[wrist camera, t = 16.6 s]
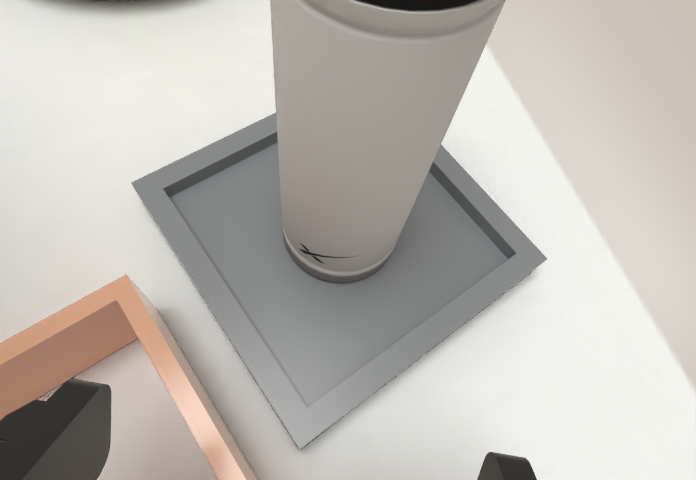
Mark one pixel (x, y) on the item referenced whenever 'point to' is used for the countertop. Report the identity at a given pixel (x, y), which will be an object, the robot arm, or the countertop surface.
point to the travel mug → (364, 118)
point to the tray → (323, 296)
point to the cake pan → (118, 0)
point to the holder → (103, 340)
